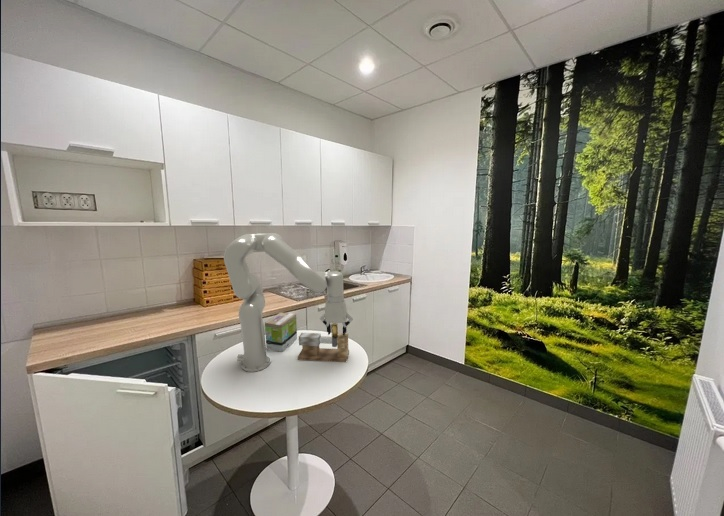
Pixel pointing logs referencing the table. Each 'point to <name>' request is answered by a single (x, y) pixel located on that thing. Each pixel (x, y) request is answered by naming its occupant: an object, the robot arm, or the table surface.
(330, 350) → the base
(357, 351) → the table surface
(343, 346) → the socket block
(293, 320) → the tea box
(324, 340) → the brass knob sliding bolt
